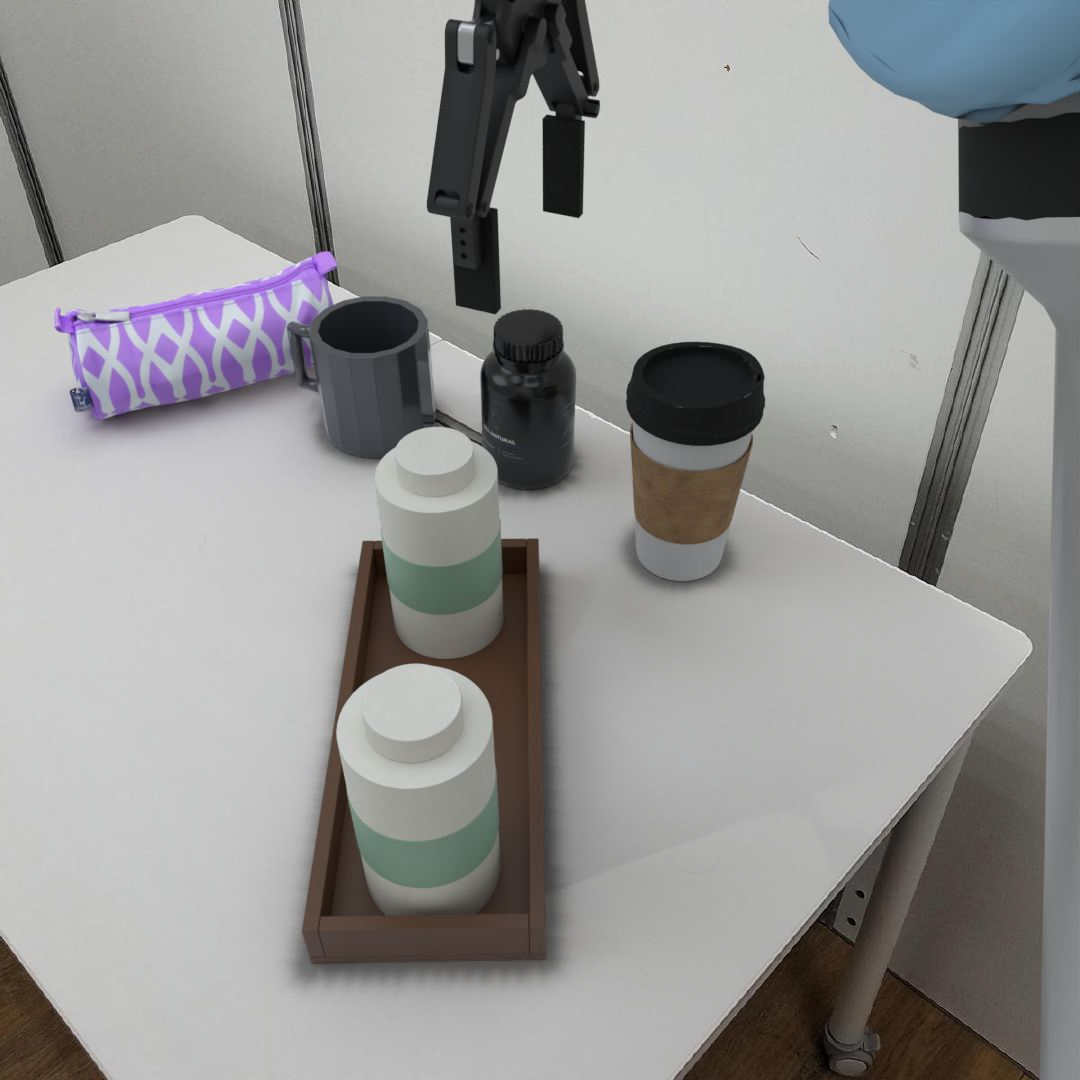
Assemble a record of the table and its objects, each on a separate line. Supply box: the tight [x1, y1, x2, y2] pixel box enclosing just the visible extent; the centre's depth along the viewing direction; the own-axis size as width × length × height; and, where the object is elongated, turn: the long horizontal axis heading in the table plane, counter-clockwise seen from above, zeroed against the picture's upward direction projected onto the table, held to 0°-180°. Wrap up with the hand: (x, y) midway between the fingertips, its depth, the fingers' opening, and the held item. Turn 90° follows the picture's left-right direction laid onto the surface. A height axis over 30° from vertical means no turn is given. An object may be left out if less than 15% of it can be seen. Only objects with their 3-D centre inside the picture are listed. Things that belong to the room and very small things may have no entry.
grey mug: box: [287, 295, 437, 459], centre depth 85 cm, size 12×9×9 cm
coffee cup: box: [625, 341, 766, 582], centre depth 72 cm, size 8×8×15 cm
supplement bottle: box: [479, 308, 577, 490], centre depth 80 cm, size 7×7×12 cm
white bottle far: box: [373, 426, 504, 659], centre depth 67 cm, size 7×7×14 cm
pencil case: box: [53, 250, 339, 421], centre depth 89 cm, size 22×9×10 cm, turn 115°
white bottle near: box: [336, 664, 501, 915], centre depth 54 cm, size 7×7×14 cm
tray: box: [301, 537, 547, 964], centre depth 64 cm, size 12×28×3 cm, turn 1°
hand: (523, 257), depth 73 cm, fingers open, 13 cm apart
